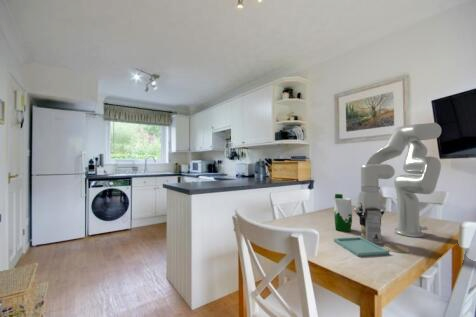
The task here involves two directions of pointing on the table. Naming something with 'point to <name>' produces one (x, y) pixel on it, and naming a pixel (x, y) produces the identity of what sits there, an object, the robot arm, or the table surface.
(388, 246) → the gold metallic coaster
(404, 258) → the table surface
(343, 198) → the milk carton
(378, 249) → the tray
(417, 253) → the table surface
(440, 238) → the table surface
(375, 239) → the coffee box
